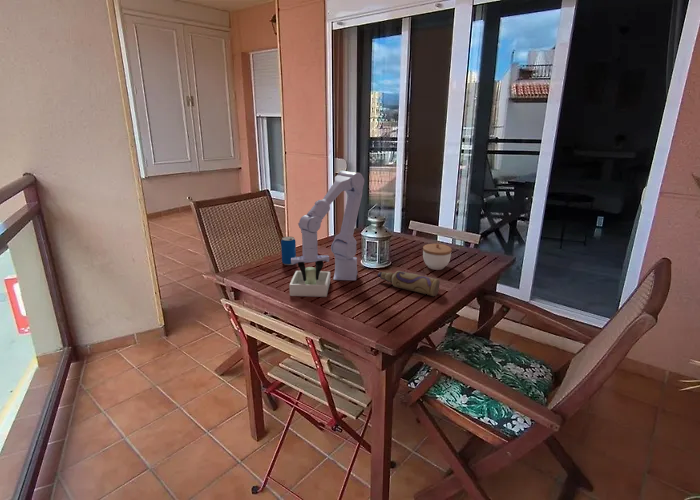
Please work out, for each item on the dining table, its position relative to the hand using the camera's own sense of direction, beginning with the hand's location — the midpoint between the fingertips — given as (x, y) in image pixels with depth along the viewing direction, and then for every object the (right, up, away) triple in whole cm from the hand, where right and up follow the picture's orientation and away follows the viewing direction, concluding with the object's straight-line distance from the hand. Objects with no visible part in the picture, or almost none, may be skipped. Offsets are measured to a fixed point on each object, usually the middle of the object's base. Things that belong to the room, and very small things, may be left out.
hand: (310, 279), depth 156 cm
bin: (0, -4, +1) cm, 4 cm away
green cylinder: (0, -1, +1) cm, 2 cm away
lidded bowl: (+54, +4, +25) cm, 60 cm away
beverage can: (-13, +5, +27) cm, 31 cm away
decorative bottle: (+39, -4, +3) cm, 39 cm away
